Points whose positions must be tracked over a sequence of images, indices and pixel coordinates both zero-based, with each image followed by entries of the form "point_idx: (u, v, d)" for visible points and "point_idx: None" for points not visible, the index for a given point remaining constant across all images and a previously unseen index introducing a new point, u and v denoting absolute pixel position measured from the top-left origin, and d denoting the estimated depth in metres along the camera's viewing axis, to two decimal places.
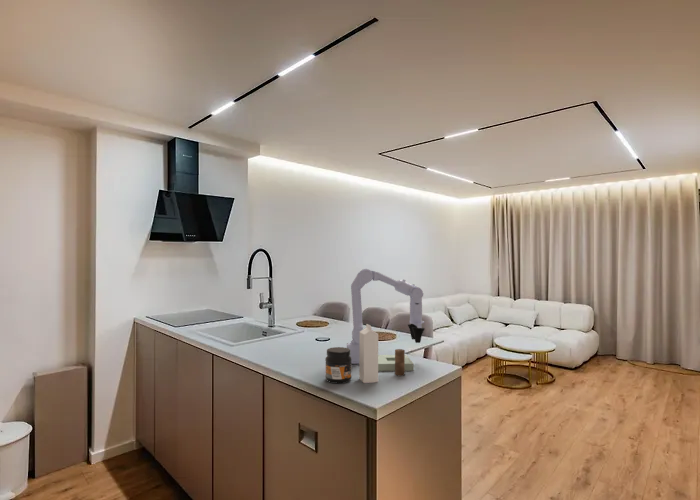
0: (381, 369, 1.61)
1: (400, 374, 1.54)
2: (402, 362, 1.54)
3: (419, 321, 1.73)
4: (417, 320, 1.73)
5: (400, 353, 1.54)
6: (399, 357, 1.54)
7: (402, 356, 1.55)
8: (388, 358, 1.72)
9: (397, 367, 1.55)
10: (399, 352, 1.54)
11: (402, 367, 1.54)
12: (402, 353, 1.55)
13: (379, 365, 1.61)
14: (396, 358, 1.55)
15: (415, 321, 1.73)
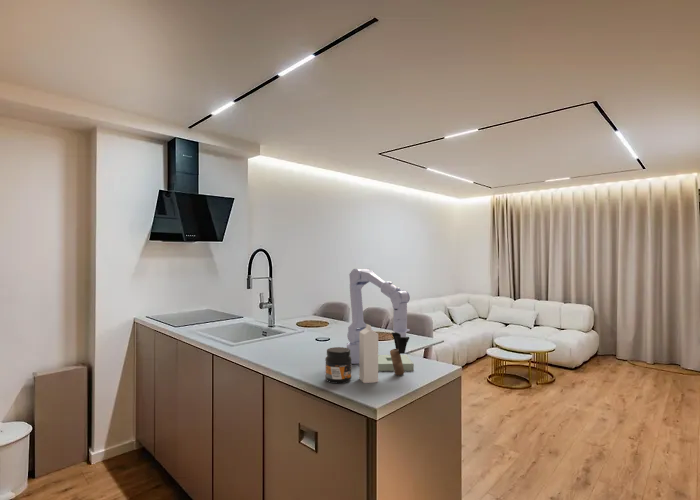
0: (381, 369, 1.61)
1: (400, 374, 1.54)
2: (399, 362, 1.53)
3: (403, 329, 1.54)
4: (401, 328, 1.54)
5: (395, 354, 1.52)
6: (395, 358, 1.53)
7: (398, 357, 1.53)
8: (388, 358, 1.72)
9: (395, 367, 1.54)
10: (394, 354, 1.52)
11: (400, 367, 1.54)
12: (397, 354, 1.53)
13: (379, 365, 1.61)
14: (392, 360, 1.54)
15: (399, 329, 1.54)
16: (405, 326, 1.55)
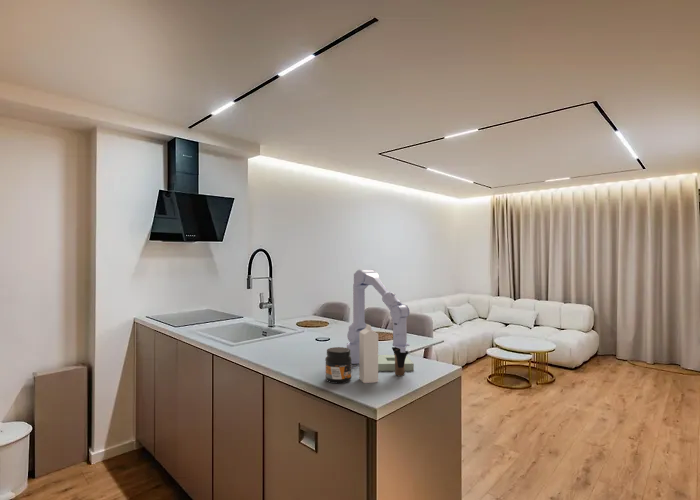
0: (381, 369, 1.61)
1: (400, 374, 1.54)
2: None
3: (403, 344, 1.54)
4: (401, 343, 1.54)
5: None
6: None
7: None
8: (388, 358, 1.72)
9: (397, 367, 1.55)
10: None
11: None
12: None
13: (379, 365, 1.61)
14: (396, 358, 1.55)
15: (399, 344, 1.54)
16: (405, 341, 1.55)
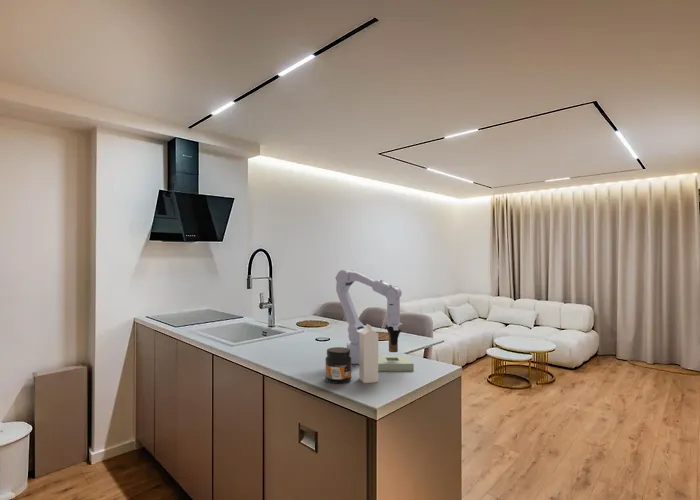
0: (381, 369, 1.61)
1: (393, 351, 1.65)
2: None
3: (396, 323, 1.65)
4: (394, 322, 1.65)
5: None
6: None
7: None
8: (388, 358, 1.72)
9: (390, 344, 1.66)
10: None
11: None
12: None
13: (379, 365, 1.61)
14: None
15: (392, 323, 1.65)
16: (398, 320, 1.66)
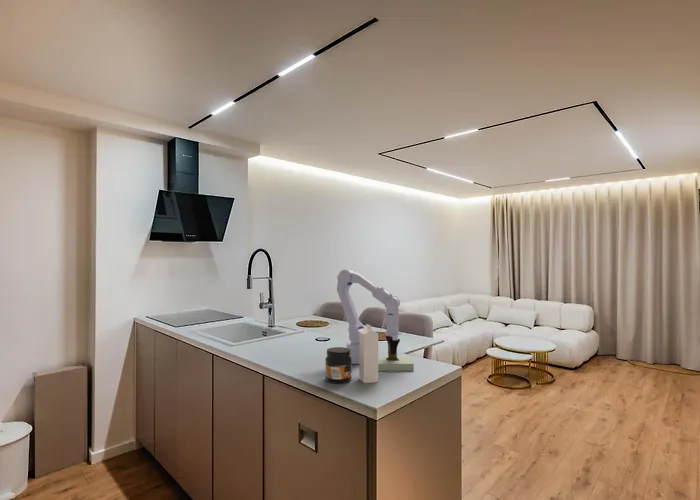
0: (381, 369, 1.61)
1: (393, 360, 1.67)
2: None
3: (395, 333, 1.67)
4: (393, 331, 1.67)
5: None
6: None
7: None
8: None
9: (389, 353, 1.68)
10: None
11: (394, 354, 1.67)
12: None
13: (379, 365, 1.61)
14: (389, 346, 1.68)
15: (391, 333, 1.67)
16: (397, 330, 1.68)
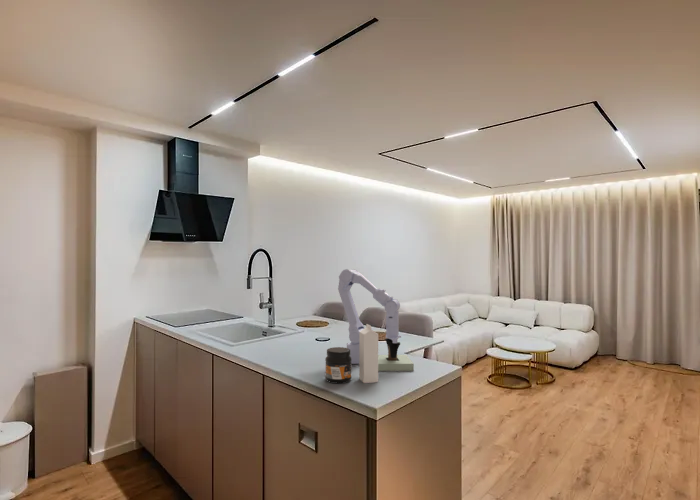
0: (381, 369, 1.61)
1: None
2: None
3: (395, 335, 1.67)
4: (393, 334, 1.67)
5: None
6: None
7: None
8: None
9: (390, 359, 1.68)
10: None
11: (394, 359, 1.67)
12: None
13: (379, 365, 1.61)
14: (389, 351, 1.68)
15: (391, 335, 1.67)
16: (397, 333, 1.67)
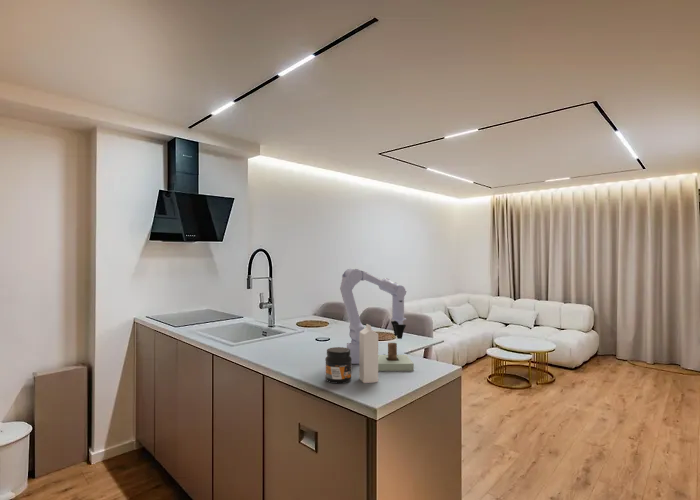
0: (381, 369, 1.61)
1: None
2: (394, 354, 1.67)
3: (401, 318, 1.80)
4: (399, 317, 1.80)
5: (392, 346, 1.67)
6: (391, 350, 1.67)
7: (394, 349, 1.67)
8: None
9: (389, 359, 1.68)
10: (391, 345, 1.67)
11: (394, 359, 1.67)
12: (394, 346, 1.68)
13: (379, 365, 1.61)
14: (389, 351, 1.68)
15: (397, 318, 1.80)
16: (402, 315, 1.81)
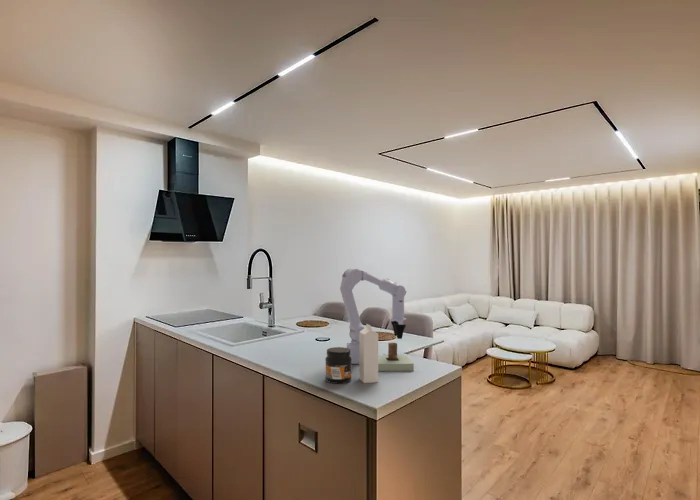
0: (381, 369, 1.61)
1: None
2: (395, 354, 1.67)
3: (401, 318, 1.80)
4: (399, 317, 1.80)
5: (393, 346, 1.67)
6: (392, 350, 1.67)
7: (395, 349, 1.67)
8: None
9: (390, 359, 1.68)
10: (392, 345, 1.67)
11: (394, 359, 1.67)
12: (395, 346, 1.67)
13: (379, 365, 1.61)
14: (389, 351, 1.68)
15: (397, 318, 1.80)
16: (402, 315, 1.81)
